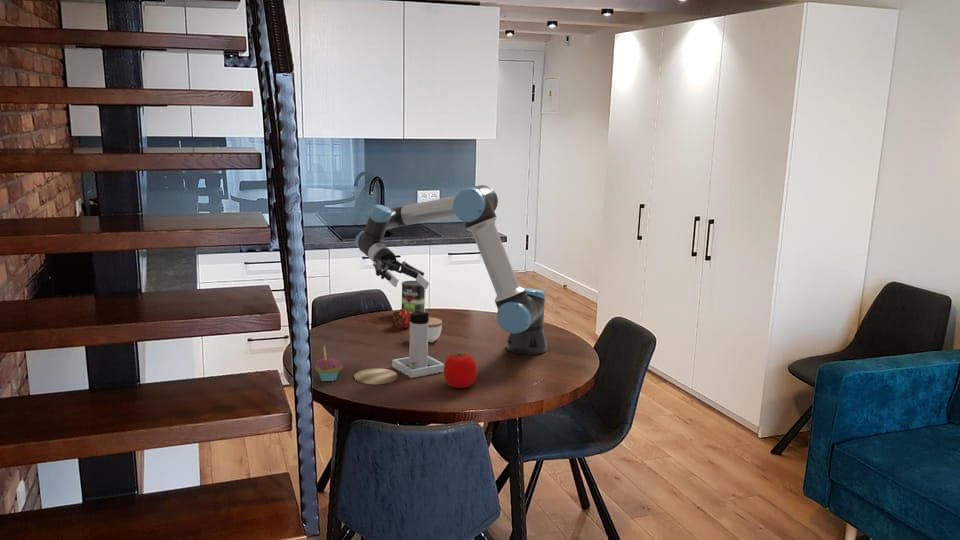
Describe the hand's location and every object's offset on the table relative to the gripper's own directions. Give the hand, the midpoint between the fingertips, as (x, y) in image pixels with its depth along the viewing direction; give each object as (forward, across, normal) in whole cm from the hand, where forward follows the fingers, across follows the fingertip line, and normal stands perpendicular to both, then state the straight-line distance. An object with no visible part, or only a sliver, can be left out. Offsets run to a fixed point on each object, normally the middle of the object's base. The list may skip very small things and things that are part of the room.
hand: (412, 284), depth 258 cm
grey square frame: (+20, +1, -22) cm, 30 cm away
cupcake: (+13, +30, -30) cm, 44 cm away
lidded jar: (-5, -22, -26) cm, 34 cm away
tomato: (+40, 0, -16) cm, 43 cm away
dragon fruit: (-24, -24, -32) cm, 47 cm away
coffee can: (-38, -39, -34) cm, 64 cm away
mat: (+19, +17, -25) cm, 36 cm away
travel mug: (+20, +1, -22) cm, 30 cm away
